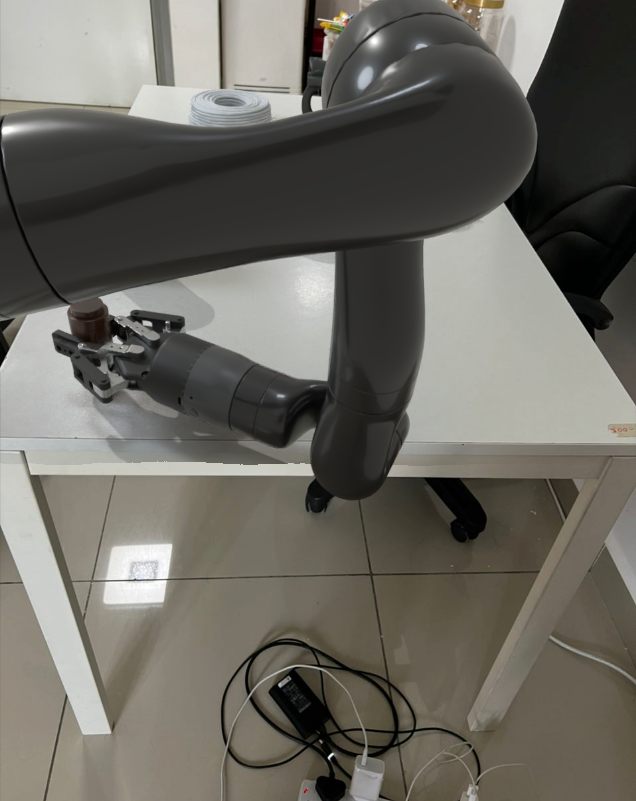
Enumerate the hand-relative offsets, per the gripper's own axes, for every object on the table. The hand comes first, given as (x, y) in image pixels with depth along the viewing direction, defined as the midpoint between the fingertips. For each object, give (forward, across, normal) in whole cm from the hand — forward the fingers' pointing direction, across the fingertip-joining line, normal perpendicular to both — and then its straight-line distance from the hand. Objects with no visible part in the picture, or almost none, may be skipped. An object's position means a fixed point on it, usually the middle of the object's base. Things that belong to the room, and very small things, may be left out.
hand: (71, 328), depth 68 cm
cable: (+30, -81, +7) cm, 87 cm away
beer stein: (-1, -72, +7) cm, 73 cm away
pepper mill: (-3, 0, +6) cm, 7 cm away
